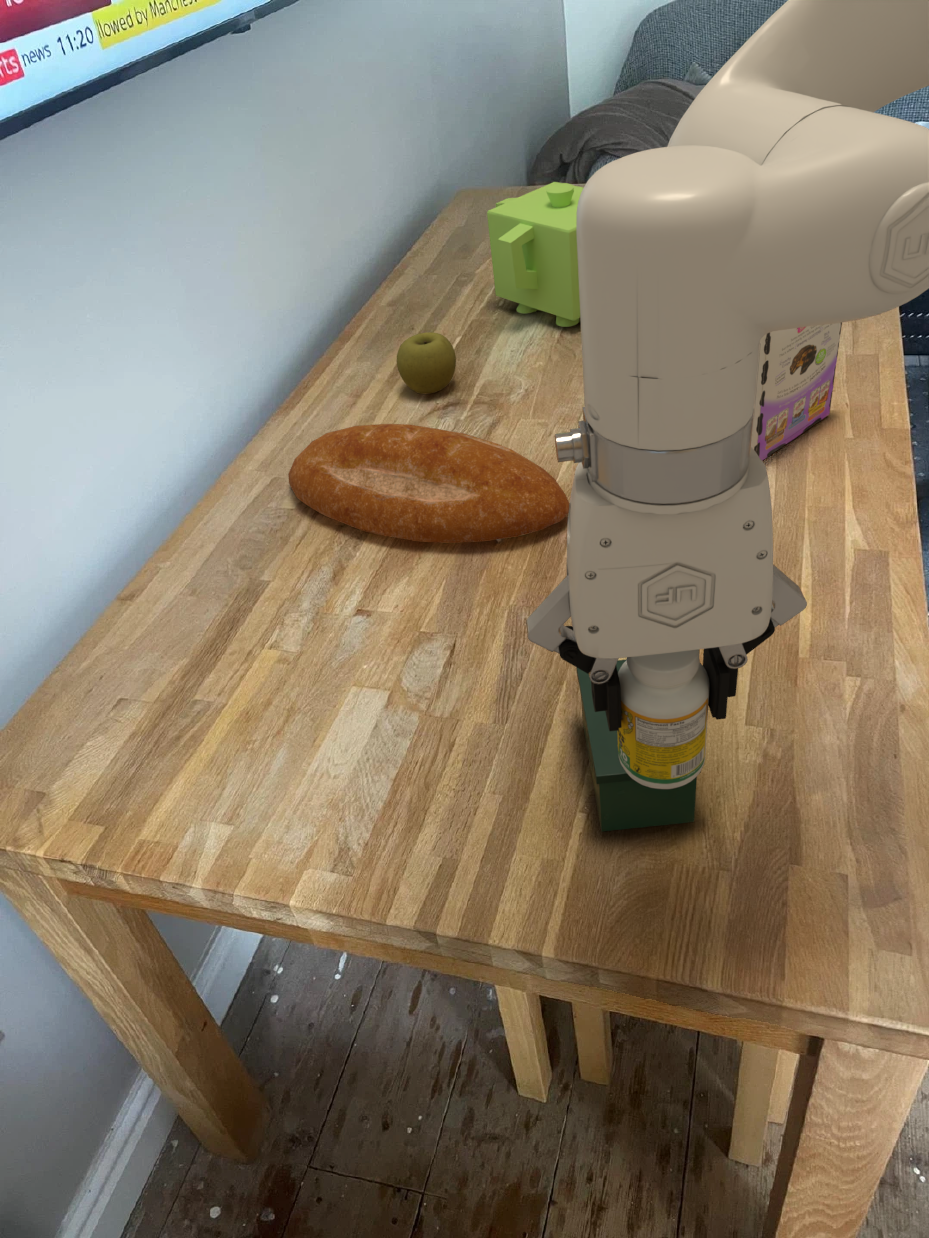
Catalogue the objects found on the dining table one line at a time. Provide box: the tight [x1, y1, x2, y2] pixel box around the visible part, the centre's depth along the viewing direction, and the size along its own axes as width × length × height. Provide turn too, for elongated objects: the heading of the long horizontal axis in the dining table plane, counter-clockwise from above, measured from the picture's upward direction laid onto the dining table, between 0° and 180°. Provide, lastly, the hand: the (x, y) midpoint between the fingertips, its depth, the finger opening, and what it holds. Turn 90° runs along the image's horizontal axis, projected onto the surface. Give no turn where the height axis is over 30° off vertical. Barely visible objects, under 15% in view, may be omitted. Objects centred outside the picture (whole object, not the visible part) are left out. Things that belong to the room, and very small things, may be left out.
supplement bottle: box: [617, 649, 710, 789], centre depth 56 cm, size 5×5×10 cm
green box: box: [575, 658, 702, 833], centre depth 73 cm, size 7×11×8 cm, turn 2°
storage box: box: [486, 181, 584, 328], centre depth 137 cm, size 25×23×17 cm
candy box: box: [751, 322, 843, 461], centre depth 104 cm, size 14×6×16 cm, turn 130°
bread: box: [287, 423, 570, 544], centre depth 105 cm, size 18×35×9 cm, turn 63°
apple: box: [396, 331, 457, 395], centre depth 126 cm, size 8×8×7 cm
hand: (662, 705), depth 56 cm, fingers closed on supplement bottle, 5 cm apart
